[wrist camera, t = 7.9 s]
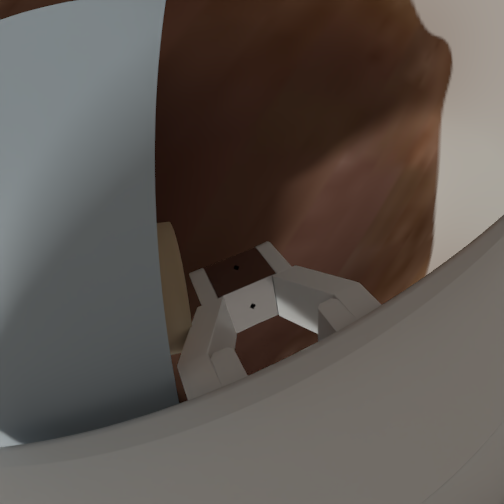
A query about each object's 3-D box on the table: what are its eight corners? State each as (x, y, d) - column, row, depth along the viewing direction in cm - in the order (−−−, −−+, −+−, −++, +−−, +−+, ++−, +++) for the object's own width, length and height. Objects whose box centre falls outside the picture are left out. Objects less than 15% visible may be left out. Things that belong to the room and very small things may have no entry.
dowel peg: (168, 295, 11) (195, 376, 8) (-61, 323, 7) (-82, 392, 4) (163, 201, 9) (190, 272, 6) (-96, 249, 5) (-136, 314, 2)
